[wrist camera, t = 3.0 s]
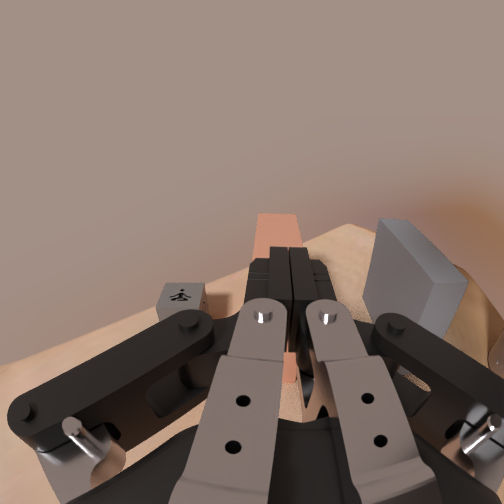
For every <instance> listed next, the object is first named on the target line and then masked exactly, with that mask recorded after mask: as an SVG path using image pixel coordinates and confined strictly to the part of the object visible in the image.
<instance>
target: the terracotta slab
mask: <svg viewBox="0 0 504 504" xmlns="http://www.w3.org/2000/svg"><path fill="white" fill-rule="evenodd" d="M270 246H277V247H288V249H289V247H303V245H302V241H301V236H300V232H299V228H298V224H297V219H296V215H295V214H264V213H263V214H261V213H259V214H258V221H257V229H256V236H255V243H254V251H253V259H252V262H253V260H254V259H255V258H269V253H270ZM283 361H284V365H283V377H282V383H295V380H296V367H297V364H296V353H289V352H288V343H287V351H286V352H284V359H283Z"/></svg>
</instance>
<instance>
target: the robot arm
mask: <svg viewBox="0 0 504 504" xmlns="http://www.w3.org/2000/svg"><path fill="white" fill-rule="evenodd" d="M287 343H288V352H289V353H296V364H297V367H296V374H297V380H298V387H299V394H300V401H301V408H302V423H299V422H294V421H289V420H285V419H280V418H278V416H279V407H280V397H281V387H282V377H283V365H284V361H283V359H284V352H286V351H287ZM488 362H489V367H490V370H489V369H488V368H486V367H485V366H483V365H482V364H480V363H479V362H477V361H476V360H474V359H472V358H471V357H469V356H468V355H466V354H465V353H463V352H462V351H460V350H458V349H457V348H455V347H454V346H452V345H451V344H449V343H447V342H446V341H444V340H443V339H441V338H439V337H438V336H436V335H435V334H433V333H431V332H430V331H428V330H427V329H425V328H423V327H422V326H420V325H419V324H417V323H415V322H414V321H412V320H410V319H409V318H407V317H405V316H403V315H401V314H398V313H384V314H382V315H380V316H379V317H378V318H377V319H376V321H375V324H371V323H366V322H361V321H357V320H354V319H353V318H352V316H351V313H350V311H349V310H348V308H347V307H346V306H344V305H343V304H341V303H339V302H337V299H336V296H335V293H334V289H333V286H332V283H331V280H330V276H329V273H328V270H327V267H326V266H325V265H324V264H323V263H322V262H321V261H320V260H310V259H309V255H308V250H307V248H306V247H289V249H288V247H277V246H270V253H269V258H255V259H254V260H253V262H252V263H251V264H250V267H249V273H248V280H247V286H246V293H245V299H244V304H243V306H242V307H241V309H240V311H239V312H237V313H236V314H234V315H232V316H230V317H227V318H223V319H217V320H212V318H211V317H210V315H208V314H207V313H205V312H203V311H201V310H196V309H188V310H182V311H179V312H177V313H175V314H173V315H171V316H169V317H167V318H166V319H164V320H162V321H160V322H158V323H156V324H155V325H153V326H151V327H149V328H147V329H145V330H144V331H142V332H140V333H138V334H136V335H134V336H133V337H131V338H129V339H127V340H125V341H123V342H121V343H120V344H118V345H116V346H114V347H112V348H110V349H108V350H107V351H105V352H103V353H101V354H99V355H97V356H95V357H93V358H92V359H90V360H88V361H86V362H84V363H82V364H80V365H78V366H76V367H74V368H72V369H71V370H69V371H67V372H65V373H63V374H61V375H59V376H57V377H55V378H53V379H51V380H49V381H47V382H46V383H44V384H42V385H40V386H38V387H36V388H34V389H32V390H30V391H28V392H26V393H24V394H22V395H20V396H18V397H17V398H16V399H15V400H14V401H13V402H12V403H11V405H10V407H9V409H8V414H7V421H8V425H9V427H10V429H11V430H12V431H13V432H14V433H15V434H16V435H17V436H18V437H19V438H20V439H22V440H23V441H24V442H25V443H26V444H28V445H29V446H30V447H31V448H33V449H34V450H35V452H36V454H37V456H38V459H39V461H40V463H41V466H42V468H43V470H44V472H45V474H46V477H47V479H48V481H49V483H50V485H51V487H52V489H53V491H54V492H55V494H56V496H57V498H58V500H59V502H60V503H61V504H502V503H501V501H500V499H499V497H498V495H497V494H496V492H497V490H498V488H499V486H500V484H501V482H502V480H503V478H504V329H503V330H502V332H501V334H500V336H499V337H498V339H497V341H496V342H495V344H494V346H493V347H492V349H491V350H490V353H489V356H488ZM400 365H401V366H402V367H403V368H405V369H406V370H408V371H409V372H411V373H412V374H414V375H415V376H416V377H418V378H419V379H421V380H422V381H424V382H425V383H426V384H428V385H429V387H430V389H431V391H430V392H427V391H424V390H422V389H421V388H419V387H418V386H416V385H415V384H414V383H412V382H411V381H409V380H408V379H407V378H405V377H404V376H402V375H401V374H399V373H398V372H397V371H398V369H399V367H400ZM206 398H207V400H206V403H205V406H204V410H203V413H202V416H201V419H200V422H199V424H198V425H195V426H192V427H190V428H187V429H185V430H183V431H181V432H179V433H178V434H176V435H174V436H173V437H171V438H170V439H169V440H167V441H166V442H165V443H163V444H162V445H160V446H159V447H158V448H156V449H155V450H153V451H152V452H150V453H149V454H148V455H146V456H145V457H143V458H142V459H140V460H139V461H137V462H136V463H134V464H133V465H131V466H130V467H128V468H126V469H125V470H123V471H122V469H123V467H124V465H125V462H126V453H125V452H127V451H129V450H130V449H132V448H134V447H135V446H137V445H139V444H140V443H142V442H143V441H145V440H147V439H148V438H150V437H151V436H153V435H154V434H156V433H158V432H159V431H161V430H162V429H164V428H165V427H167V426H168V425H170V424H171V423H173V422H174V421H175V420H177V419H178V418H180V417H181V416H183V415H184V414H186V413H187V412H188V411H190V410H191V409H193V408H194V407H195V406H197V405H198V404H200V403H201V402H202V401H204V400H205V399H206ZM121 471H122V472H121ZM119 472H120V473H119ZM116 474H117V475H116Z"/></svg>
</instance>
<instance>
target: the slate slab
mask: <svg viewBox="0 0 504 504" xmlns="http://www.w3.org/2000/svg"><path fill="white" fill-rule="evenodd" d="M468 282H469V281H468V280H467V279H466V278H465V277H464V276H463V275H462V274H461V272H460V271H459V270H458V269H457V268H456V267H455V266H454V265H453V264H452V263H451V262H450V261H449V260H448V259H447V258H446V257H445V255H444V254H442V252H441V251H440V250H438V249H437V247H436V246H435V245H434V244H433V243H431V242H430V241H429V240H428V239H427V238H426V237H425V236H424V235H423V234H422V233H421V232H420V231H419V230H418V229H417V228H416V227H414V226H413V225H412V224H411V223H410V222H409V221H408V220H397V219H383V218H379V221H378V226H377V232H376V238H375V243H374V248H373V253H372V258H371V262H370V267H369V271H368V276H367V280H366V284H365V288H364V292H363V296H362V298H363V300H364V303H365V305H366V307H367V310H368V312H369V315H370V317H371V320H372V322H373V324H375V321H376V319H377V318H378V317H379V316H380V315H382V314H384V313H398V314H401V315H403V316H405V317H407V318H409V319H410V320H412V321H414V322H415V323H417V324H419V325H420V326H422V327H423V328H425V329H427V330H428V331H430V332H431V333H433V334H435V335H436V336H438V337H439V338H441V339H443V337H444V335H445V333H446V331H447V329H448V327H449V325H450V323H451V321H452V319H453V317H454V315H455V313H456V311H457V309H458V306H459V304H460V302H461V299H462V297H463V295H464V292H465V290H466V287H467V285H468ZM397 372H398V373H399V374H401V375H403V374H409V373H411V372H409V371H408V370H406V369H405V368H403V367H402V366H401V365H400V367H399V369H398V371H397Z"/></svg>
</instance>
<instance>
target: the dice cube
mask: <svg viewBox="0 0 504 504" xmlns="http://www.w3.org/2000/svg"><path fill="white" fill-rule="evenodd" d="M188 309H196V310H201V311H203V312H205V313H207V314H208V307H207V300H206V292H205V284H204V283H166V284H165V286H164V289H163V291H162V293H161V296H160V298H159V301H158V303H157V305H156V311H157V314H158V318H159V321H162V320H164V319H166V318H167V317H169V316H171V315H173V314H175V313H177V312H179V311H182V310H188Z"/></svg>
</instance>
